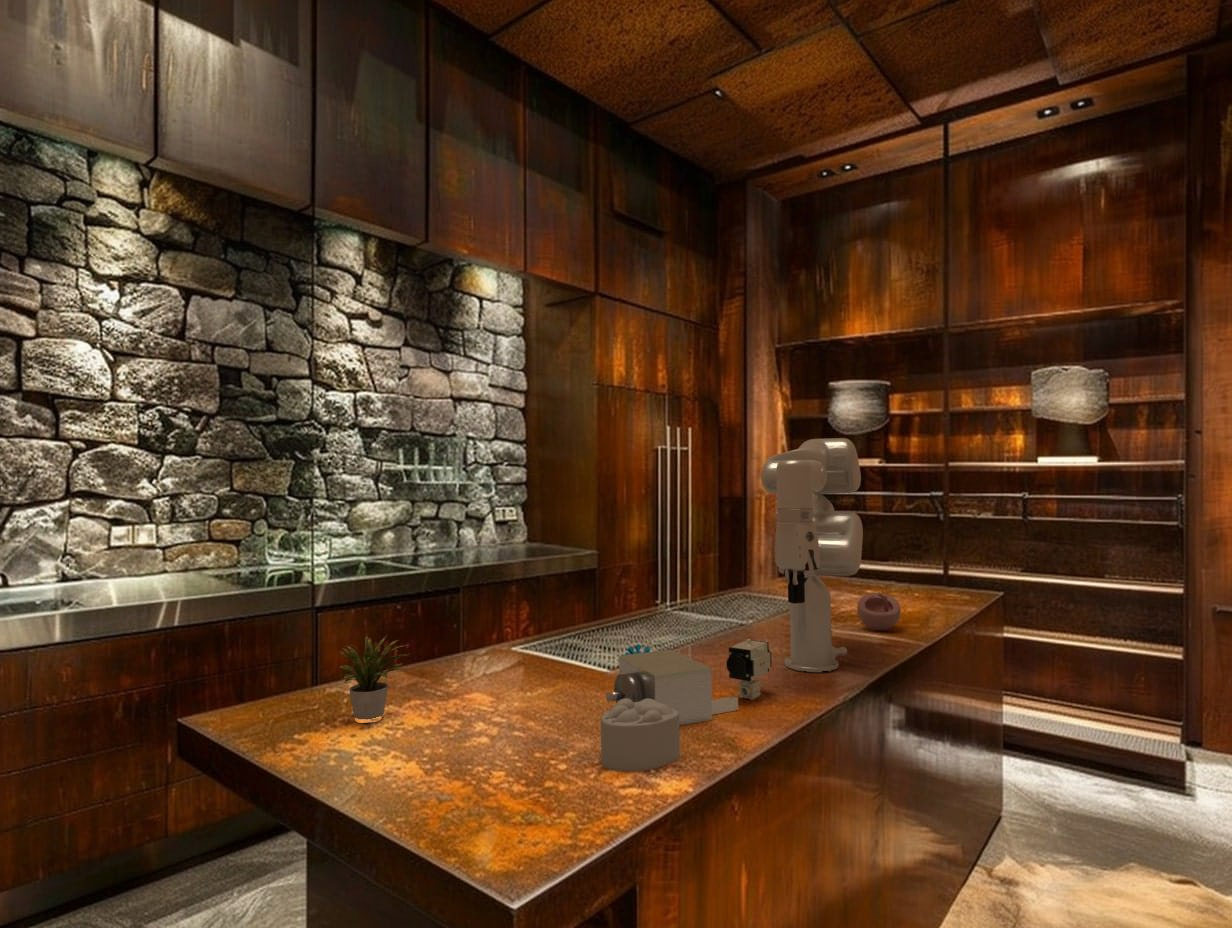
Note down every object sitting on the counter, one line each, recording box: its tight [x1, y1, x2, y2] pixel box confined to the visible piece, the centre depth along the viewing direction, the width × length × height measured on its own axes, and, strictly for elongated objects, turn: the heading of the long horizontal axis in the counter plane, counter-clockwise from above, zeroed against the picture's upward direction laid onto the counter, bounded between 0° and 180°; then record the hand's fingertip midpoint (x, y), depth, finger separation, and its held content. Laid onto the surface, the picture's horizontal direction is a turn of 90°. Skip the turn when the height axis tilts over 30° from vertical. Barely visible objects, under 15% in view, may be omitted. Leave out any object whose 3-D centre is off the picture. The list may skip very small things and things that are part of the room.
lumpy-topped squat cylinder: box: [600, 698, 681, 773], centre depth 116 cm, size 10×13×9 cm
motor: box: [605, 649, 739, 727], centre depth 138 cm, size 26×16×10 cm, turn 114°
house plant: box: [335, 633, 411, 719], centre depth 135 cm, size 14×14×16 cm
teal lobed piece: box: [624, 644, 652, 655], centre depth 161 cm, size 11×6×10 cm
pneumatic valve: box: [726, 638, 773, 701], centre depth 146 cm, size 6×12×12 cm, turn 142°
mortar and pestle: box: [857, 592, 901, 632], centre depth 209 cm, size 12×12×12 cm
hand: (796, 602), depth 151 cm, fingers closed
